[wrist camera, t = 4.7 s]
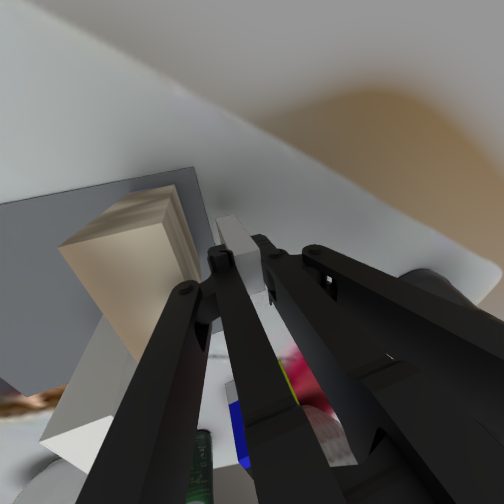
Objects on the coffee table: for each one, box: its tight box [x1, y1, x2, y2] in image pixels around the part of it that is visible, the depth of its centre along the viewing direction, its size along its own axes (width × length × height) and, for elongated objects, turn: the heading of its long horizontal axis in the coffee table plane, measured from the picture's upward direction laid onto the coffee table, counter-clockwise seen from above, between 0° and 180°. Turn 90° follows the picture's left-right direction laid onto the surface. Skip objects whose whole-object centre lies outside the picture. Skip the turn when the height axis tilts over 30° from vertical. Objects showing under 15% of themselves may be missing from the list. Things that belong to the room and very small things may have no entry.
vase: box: [301, 405, 358, 467], centre depth 37 cm, size 16×16×22 cm
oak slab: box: [57, 183, 202, 364], centre depth 15 cm, size 4×8×12 cm, turn 9°
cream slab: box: [39, 314, 138, 474], centre depth 20 cm, size 4×8×12 cm, turn 9°
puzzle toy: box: [225, 360, 300, 480], centre depth 33 cm, size 10×10×10 cm
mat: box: [0, 167, 223, 397], centre depth 22 cm, size 26×21×1 cm
